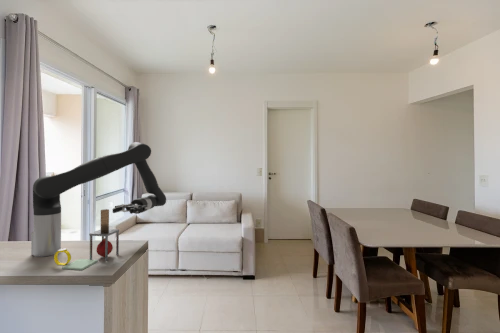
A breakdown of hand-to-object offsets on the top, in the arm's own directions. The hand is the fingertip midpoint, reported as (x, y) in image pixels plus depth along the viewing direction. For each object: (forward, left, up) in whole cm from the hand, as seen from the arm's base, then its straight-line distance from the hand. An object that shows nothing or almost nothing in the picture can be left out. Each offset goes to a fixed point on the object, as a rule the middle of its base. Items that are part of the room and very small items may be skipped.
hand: (122, 211), depth 114 cm
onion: (0, -11, -17) cm, 21 cm away
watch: (-11, -20, -17) cm, 29 cm away
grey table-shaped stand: (0, -11, -17) cm, 20 cm away
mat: (-4, -20, -17) cm, 26 cm away
